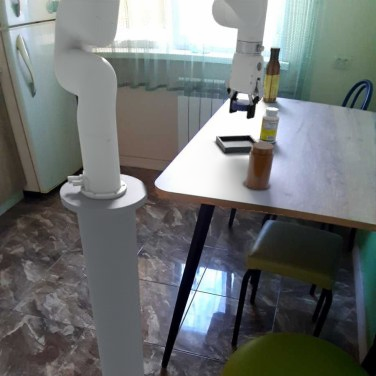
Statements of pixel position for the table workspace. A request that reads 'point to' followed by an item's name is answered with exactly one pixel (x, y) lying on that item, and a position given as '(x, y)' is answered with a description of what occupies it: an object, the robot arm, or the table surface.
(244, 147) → the slate tray
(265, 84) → the sauce bottle
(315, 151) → the table surface
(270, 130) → the supplement bottle
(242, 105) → the jar lid
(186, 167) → the table surface
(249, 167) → the jam jar
